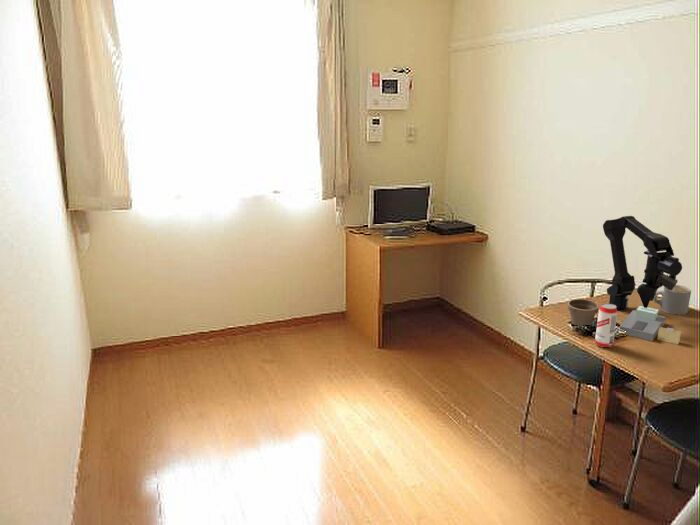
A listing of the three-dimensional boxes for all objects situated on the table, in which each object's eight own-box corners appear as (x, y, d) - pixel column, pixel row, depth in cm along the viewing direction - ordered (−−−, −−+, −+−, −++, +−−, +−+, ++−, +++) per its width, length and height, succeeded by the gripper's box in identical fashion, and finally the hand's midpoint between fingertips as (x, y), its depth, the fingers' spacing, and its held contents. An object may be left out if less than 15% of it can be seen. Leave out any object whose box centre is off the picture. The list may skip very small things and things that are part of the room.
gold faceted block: (678, 344, 201) (680, 332, 199) (657, 339, 205) (659, 327, 203) (679, 342, 202) (681, 330, 201) (658, 337, 207) (660, 325, 205)
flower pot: (580, 335, 210) (582, 311, 207) (559, 324, 220) (561, 301, 217) (602, 329, 214) (605, 306, 211) (581, 319, 224) (583, 296, 221)
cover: (635, 316, 218) (636, 308, 217) (638, 312, 222) (639, 304, 221) (654, 320, 214) (656, 312, 213) (657, 316, 217) (658, 308, 216)
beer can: (605, 350, 198) (610, 310, 193) (590, 343, 203) (595, 304, 198) (616, 346, 200) (622, 307, 195) (602, 340, 206) (607, 301, 201)
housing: (618, 333, 211) (619, 325, 210) (632, 316, 225) (633, 309, 224) (652, 341, 203) (653, 333, 202) (664, 323, 218) (665, 316, 217)
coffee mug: (687, 308, 232) (691, 286, 228) (687, 316, 224) (691, 294, 220) (652, 302, 238) (655, 281, 235) (650, 310, 230) (654, 288, 227)
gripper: (672, 278, 200) (665, 316, 204) (682, 265, 213) (675, 301, 218) (639, 272, 206) (633, 309, 211) (651, 260, 220) (645, 295, 225)
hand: (648, 304), depth 216 cm, fingers open, 9 cm apart
